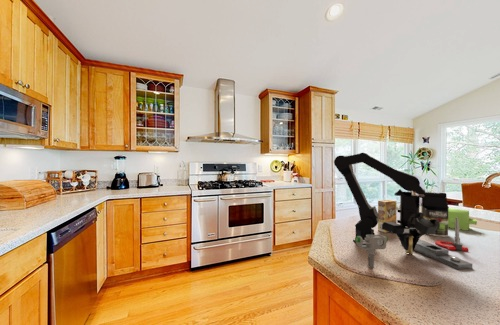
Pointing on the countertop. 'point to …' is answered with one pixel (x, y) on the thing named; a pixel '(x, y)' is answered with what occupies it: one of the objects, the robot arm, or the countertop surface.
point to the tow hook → (456, 245)
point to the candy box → (386, 213)
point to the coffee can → (440, 217)
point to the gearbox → (460, 218)
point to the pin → (410, 245)
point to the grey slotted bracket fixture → (441, 255)
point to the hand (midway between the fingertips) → (409, 249)
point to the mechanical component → (371, 245)
